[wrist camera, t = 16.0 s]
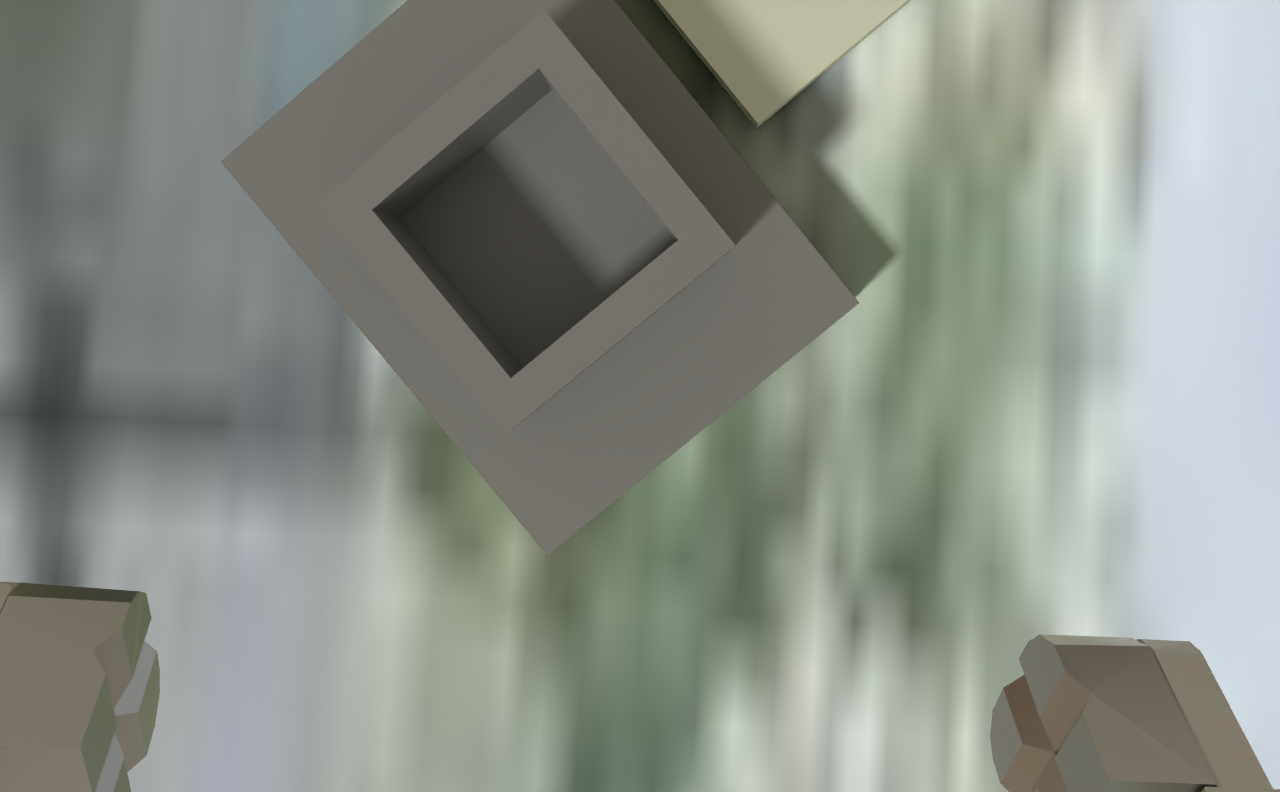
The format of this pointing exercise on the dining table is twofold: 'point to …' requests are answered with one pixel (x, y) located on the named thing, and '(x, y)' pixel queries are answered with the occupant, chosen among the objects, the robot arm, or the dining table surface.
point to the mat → (773, 42)
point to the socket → (540, 241)
